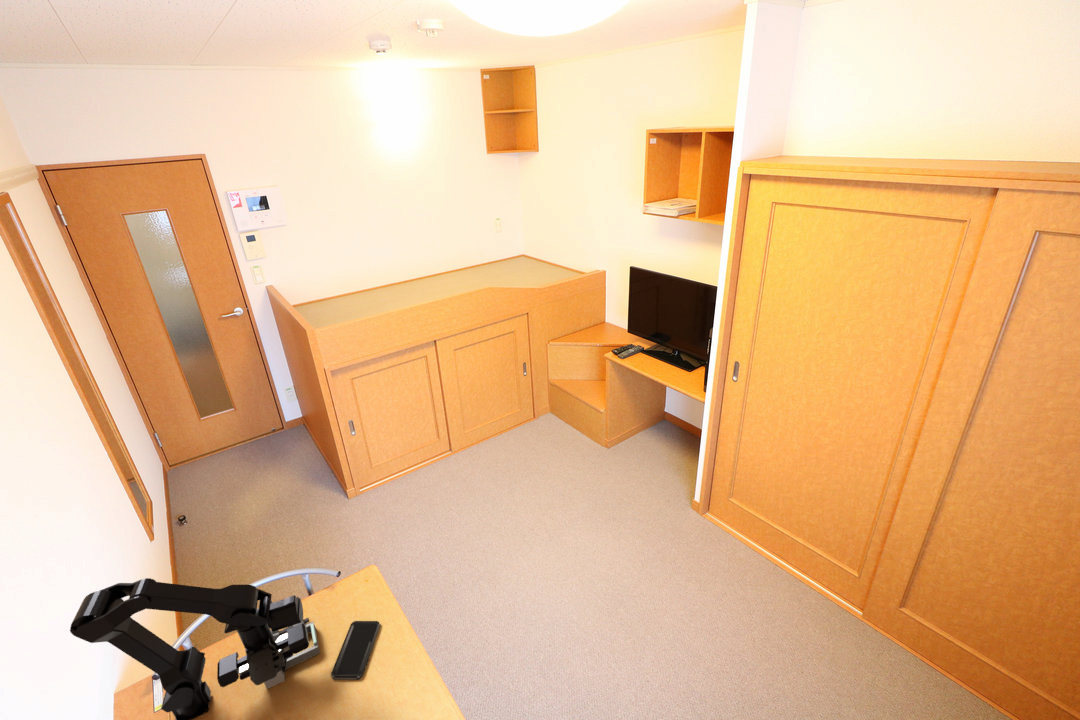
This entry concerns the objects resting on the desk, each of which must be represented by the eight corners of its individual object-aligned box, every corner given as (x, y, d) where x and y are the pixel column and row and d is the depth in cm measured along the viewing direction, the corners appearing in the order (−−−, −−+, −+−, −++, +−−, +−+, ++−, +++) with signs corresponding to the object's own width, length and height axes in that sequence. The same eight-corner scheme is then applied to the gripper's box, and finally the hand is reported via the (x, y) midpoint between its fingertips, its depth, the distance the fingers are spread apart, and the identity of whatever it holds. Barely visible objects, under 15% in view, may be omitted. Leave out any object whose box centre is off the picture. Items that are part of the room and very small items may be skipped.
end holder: (284, 669, 123) (281, 661, 122) (281, 642, 129) (278, 634, 128) (319, 653, 126) (317, 645, 125) (315, 627, 133) (312, 619, 132)
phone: (329, 677, 120) (352, 620, 134) (330, 680, 121) (352, 623, 134) (361, 678, 120) (381, 621, 133) (362, 680, 120) (381, 623, 134)
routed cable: (265, 646, 129) (262, 641, 128) (264, 638, 131) (262, 633, 130) (310, 626, 133) (308, 620, 132) (309, 619, 135) (307, 613, 134)
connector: (266, 689, 119) (258, 671, 116) (266, 674, 122) (258, 657, 119) (285, 680, 121) (277, 663, 118) (283, 666, 124) (276, 649, 121)
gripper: (207, 686, 103) (230, 728, 110) (303, 641, 111) (319, 684, 118) (208, 642, 112) (230, 684, 119) (297, 604, 120) (313, 645, 127)
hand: (274, 675), depth 121 cm, fingers closed on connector, 4 cm apart
